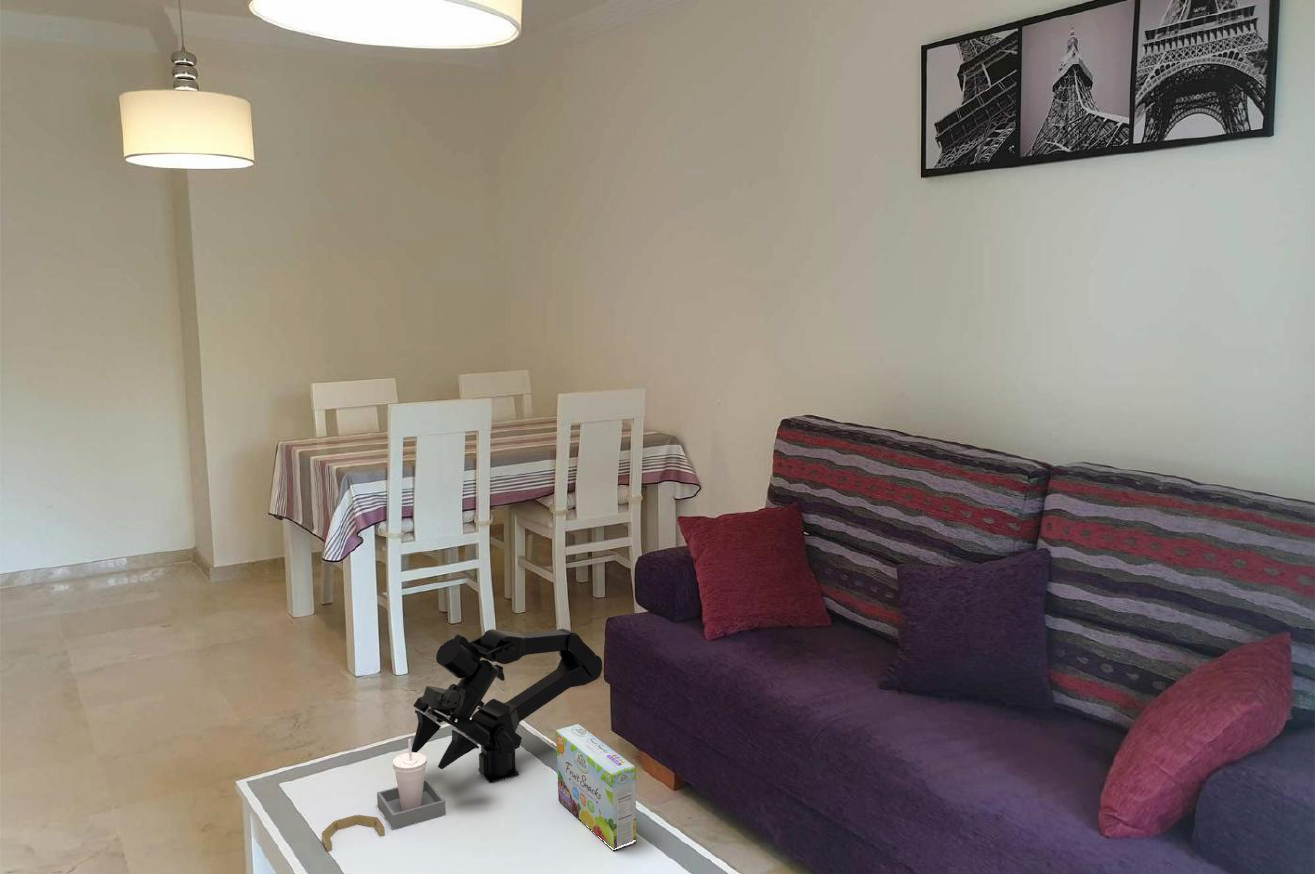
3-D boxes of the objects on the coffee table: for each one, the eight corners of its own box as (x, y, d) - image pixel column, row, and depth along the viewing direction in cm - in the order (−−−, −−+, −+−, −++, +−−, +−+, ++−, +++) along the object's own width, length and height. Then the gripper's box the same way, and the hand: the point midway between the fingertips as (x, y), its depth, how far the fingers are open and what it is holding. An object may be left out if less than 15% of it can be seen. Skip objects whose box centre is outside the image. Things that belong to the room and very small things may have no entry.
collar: (373, 817, 189) (373, 810, 189) (384, 834, 184) (384, 827, 183) (317, 832, 184) (317, 825, 184) (327, 851, 178) (327, 843, 178)
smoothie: (397, 818, 188) (395, 748, 186) (391, 802, 194) (388, 734, 191) (432, 811, 191) (429, 741, 188) (424, 795, 196) (422, 728, 194)
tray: (427, 792, 199) (427, 778, 199) (445, 814, 191) (445, 800, 190) (377, 805, 194) (376, 792, 193) (393, 829, 185) (392, 815, 185)
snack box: (555, 802, 195) (554, 728, 193) (580, 794, 199) (579, 721, 196) (612, 853, 178) (611, 773, 176) (638, 843, 181) (638, 764, 179)
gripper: (419, 657, 201) (372, 727, 195) (474, 682, 188) (426, 758, 182) (454, 682, 208) (409, 751, 202) (509, 709, 195) (464, 783, 189)
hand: (426, 760), depth 193 cm, fingers open, 9 cm apart
